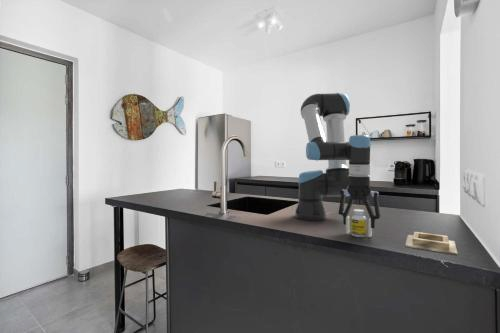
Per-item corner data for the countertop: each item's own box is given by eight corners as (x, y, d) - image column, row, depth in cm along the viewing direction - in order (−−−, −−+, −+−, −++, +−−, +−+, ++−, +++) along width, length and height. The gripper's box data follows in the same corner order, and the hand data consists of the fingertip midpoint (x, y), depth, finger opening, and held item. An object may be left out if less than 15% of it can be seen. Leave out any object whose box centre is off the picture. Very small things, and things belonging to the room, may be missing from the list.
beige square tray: (405, 246, 90) (405, 239, 90) (408, 236, 102) (408, 229, 102) (457, 254, 83) (457, 246, 82) (454, 242, 94) (454, 235, 94)
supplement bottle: (349, 236, 103) (350, 210, 102) (352, 232, 107) (352, 208, 107) (365, 238, 100) (365, 212, 99) (367, 234, 104) (367, 209, 104)
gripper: (329, 175, 105) (329, 232, 106) (387, 177, 94) (386, 241, 95) (335, 174, 111) (335, 228, 112) (390, 175, 100) (389, 236, 101)
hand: (358, 234), depth 103 cm, fingers open, 7 cm apart
